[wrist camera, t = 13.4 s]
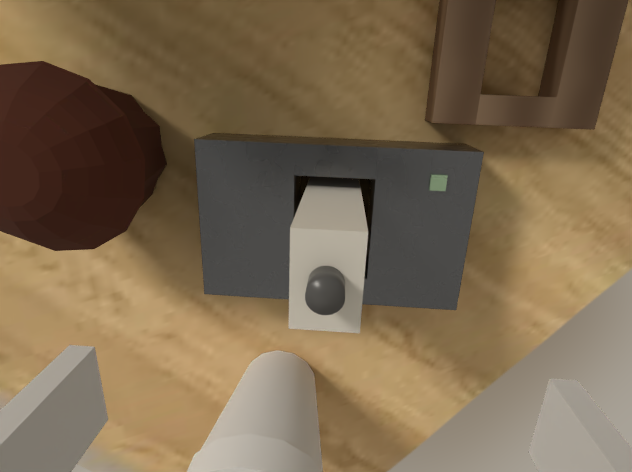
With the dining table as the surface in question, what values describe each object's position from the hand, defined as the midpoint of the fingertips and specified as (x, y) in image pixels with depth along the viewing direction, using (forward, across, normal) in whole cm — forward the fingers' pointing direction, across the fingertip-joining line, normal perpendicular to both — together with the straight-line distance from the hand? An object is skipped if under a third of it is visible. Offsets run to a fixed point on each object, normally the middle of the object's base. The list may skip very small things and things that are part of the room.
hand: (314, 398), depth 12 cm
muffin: (+20, -17, +4) cm, 27 cm away
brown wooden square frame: (+20, +11, +12) cm, 26 cm away
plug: (+20, 0, 0) cm, 20 cm away
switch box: (+20, 0, 0) cm, 20 cm away
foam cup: (+20, -4, -16) cm, 26 cm away
